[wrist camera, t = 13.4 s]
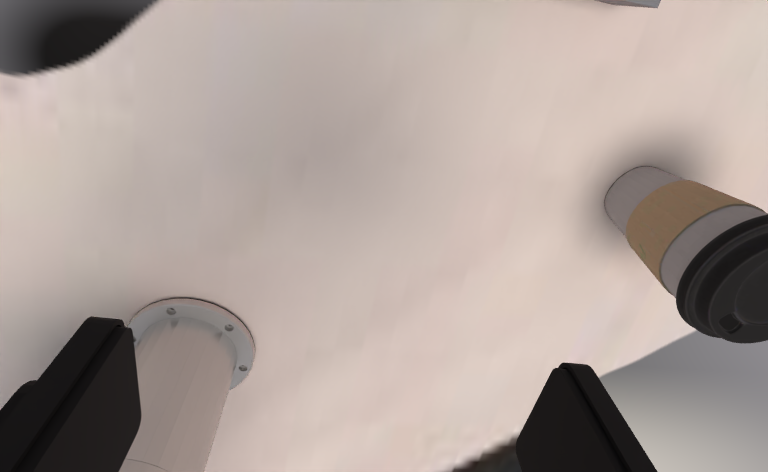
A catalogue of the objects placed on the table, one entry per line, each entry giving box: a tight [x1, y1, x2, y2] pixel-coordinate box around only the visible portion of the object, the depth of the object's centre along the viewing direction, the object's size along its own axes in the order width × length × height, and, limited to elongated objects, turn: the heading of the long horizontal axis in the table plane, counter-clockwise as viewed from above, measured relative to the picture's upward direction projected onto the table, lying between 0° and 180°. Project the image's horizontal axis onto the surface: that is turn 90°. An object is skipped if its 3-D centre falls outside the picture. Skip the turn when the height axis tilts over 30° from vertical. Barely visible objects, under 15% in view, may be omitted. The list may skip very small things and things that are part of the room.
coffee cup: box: [605, 166, 768, 343], centre depth 34 cm, size 9×9×15 cm
